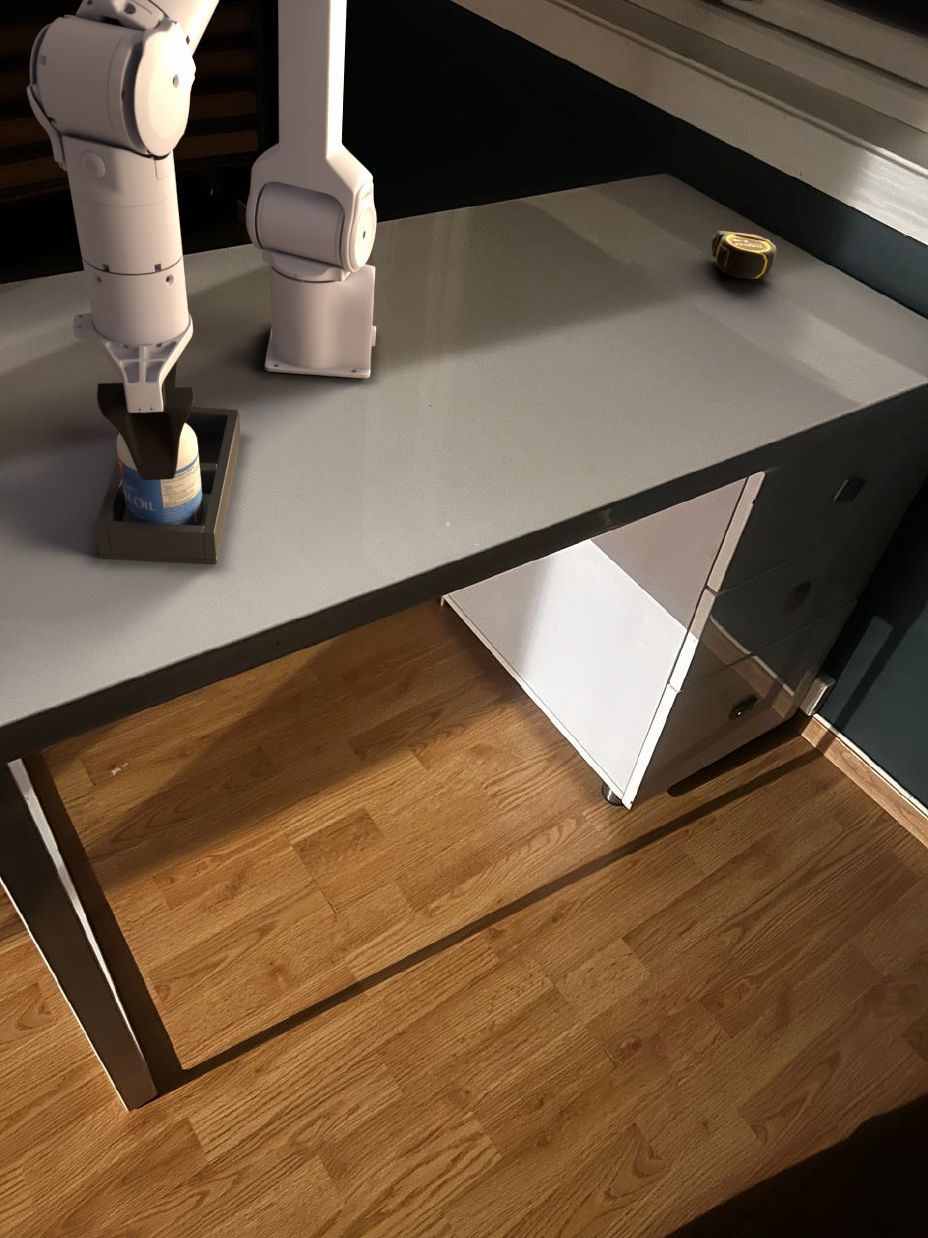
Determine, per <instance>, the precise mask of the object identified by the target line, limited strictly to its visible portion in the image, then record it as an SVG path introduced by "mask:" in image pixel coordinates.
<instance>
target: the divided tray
mask: <svg viewBox="0 0 928 1238" xmlns="http://www.w3.org/2000/svg"><path fill="white" fill-rule="evenodd" d="M240 418H241V417H240V409H233V408H221V407H220V408H217V407H204V406H193V408H192V411H191V414H190V415H189V417H188V418H187V420H186V422H185V423H186V424H187V425H188V426H189V427H190V428H191V429H192V430H193V431H194V433H195V435H196V438H197V445H198V454H199V466H200V476H201V488H202V499H203V518H202V521H201V523H200V524H199V526H194V525H176V524H157V523H139V522H129V519H128V515H127V510H126V503H125V497H124V491H123V485H122V478H121V472H120V466H119V460H118V458H117V459H116V462H115V465H114V468H113V471H112V475H111V477H110V480H109V483H108V486H107V489H106V492H105V495H104V498H103V501H102V504H101V507H100V510H99V513H98V516H97V518H96V522H95V525H94V531H95V536H96V541H97V546H98V551H99V556H100V559H108V560H109V559H110V560H128V561H145V562H146V561H148V562H168V563H188V564H189V563H190V564H208V565H211V564H212V565H217V564H218V560H219V555H220V550H221V545H222V539H223V535H224V529H225V525H226V520H227V519H226V518H227V513H228V510H229V509H228V508H229V504H230V498H231V493H232V488H233V483H234V477H235V472H236V466H237V463H238V462H237V461H238V456H239V451H240V445H241V441H242V436H241V419H240Z"/></svg>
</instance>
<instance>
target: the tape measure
mask: <svg viewBox="0 0 928 1238" xmlns="http://www.w3.org/2000/svg"><path fill="white" fill-rule="evenodd" d="M710 246H711V247H710V248H711V255H712V257H713V258H715V259H714V261H715V265H716V266H717V267H718V268H719V269H720V270H721V271H722V272H724V273H726V274H728V275H731V276H734V277H736V278H738V279H739V278H740V279H748V280H753V279H754V280H757V279H762V278H765V277H767V276H768V275H769V274H770V273H771V271H772V269H773V266H774V264H775V261H776V257H777V254H778V253H777V252H778V249H777V247H776V245H775V244H774V243H773V242H772V241H771V240H770V239H768V238H767V237H763V236H760V235H756V234H750V233H743V232H733V231H725V230H718V231H717V232H716V233H715V234H714V235H713V236H712V240H711V242H710Z"/></svg>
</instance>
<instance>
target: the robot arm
mask: <svg viewBox="0 0 928 1238" xmlns="http://www.w3.org/2000/svg"><path fill="white" fill-rule="evenodd" d="M219 1H220V0H82V2H81V4H80V6H79V7H78V9H77V11H76V13H75V15H71V14H65V15H63V17H62V16H59V17H57V18H56V19H55V20H54V21H53V22H51V23H48V24H46V25H45V26H44V27H43V28H42V29H41V30H40V31H39V32H38V34H37V36H36V37H35V39H34V42H33V45H32V48H31V53H30V59H29V81H30V82H29V85H27V87H26V92H27V98H28V101H29V105H30V107H31V110H32V112H33V114H34V116H35V118H36V120H37V121H38V122H39V124H40V126H42V128H43V129H44V130H45V132H46V133H47V134H48V137H49V139H50V142H51V147H52V151H53V157H54V162H57V163H58V166H59V167H60V168H61V169H62V170H63V171H65V172H66V173H67V178H68V183H69V184H68V185H69V190H70V195H71V201H72V207H73V214H74V218H75V219H74V220H75V224H76V231H77V235H78V243H79V248H80V254H81V258H82V264H83V270H84V271H83V272H84V276H85V277H84V278H85V282H86V283H85V284H86V290H87V295H88V301H89V306H90V307H89V308H90V311H91V312H81V313H78V314H77V313H76V314H75V315H74V317H73V323H72V328H73V334H74V337H75V338H77V339H78V340H91V341H93V342H95V343H96V345H97V347H98V348H99V349H100V350H101V352H102V353H103V355H104V357H105V358H106V359H107V361H108V362H109V363H110V365H111V367H112V368H113V369H114V371H115V372H116V374H117V375H118V376H119V378H120V380H121V382H104V383H103V382H102V383H101V382H100V383H97V388H96V389H97V391H96V399H97V406H98V408H99V410H100V412H101V414H102V416H103V417H104V418H106V420H107V421H109V422H110V423H111V424H112V425H113V427H114V428H115V429H116V431H118V434H119V433H120V434H121V436H122V438H123V439H124V441H125V443H126V445H127V447H128V450H129V452H130V454H131V457H132V459H133V461H134V464H135V466H136V468H137V470H138V472H139V474H140V476H141V478H142V479H143V480H164V479H173V478H174V477H175V473H176V469H177V462H178V451H179V442H180V436H181V432H182V429H183V426H184V424H185V422H186V420H187V418H188V417H189V415H190V414H191V411H192V408H193V407H194V405H195V389H194V388H195V387H194V386H176V380H177V379H176V377H177V367H178V360H179V358H180V356H181V354H182V352H183V351H184V350H185V348H186V346H187V345H188V344H189V342H190V341H191V339H192V337H193V334H194V327H193V318H192V316H191V314H190V313H189V309H188V308H189V307H188V297H187V289H186V288H187V287H186V277H185V267H184V256H183V246H182V236H181V226H180V225H181V224H180V216H179V205H178V204H179V203H178V194H177V182H176V171H175V162H174V160H175V159H174V151H173V150H174V149H175V148H176V147H177V145H178V143H179V141H180V139H181V138H182V137H183V136H184V134H185V130H186V128H187V124H188V118H189V113H190V112H189V111H190V102H191V101H190V100H191V91H192V85H193V83H194V81H195V78H196V77H195V73H196V70H197V68H196V65H195V62H194V59H193V55H194V54H195V51H196V49H197V47H198V45H199V43H200V41H201V39H202V37H203V34H204V33H205V31H206V28H207V27H208V24H209V22H210V20H211V18H212V16H213V14H214V13H215V9H216V8H217V5H218V4H219ZM277 7H278V8H277V15H278V17H277V18H278V19H277V20H278V21H277V22H278V24H277V25H278V27H277V28H278V29H277V30H278V33H277V34H278V143H276V144H274V145H273V146H271V147H269V148H268V149H267V150H265V151H264V152H263V153H262V154H260V155H259V156H258V157H257V159H256V160H255V161H254V163H253V165H252V167H251V172H250V187H249V194H248V198H247V203H246V209H245V224H246V231H247V234H248V236H249V238H250V241H251V242H252V243H251V244H252V245H253V246H254V248H256V249H257V250H260V251H262V252H261V253H262V255H261V256H262V263H264V264H267V265H269V266H270V267H269V268H270V271H269V272H270V304H271V306H270V307H271V328H270V333H269V339H268V345H267V350H266V355H265V361H264V370H265V371H267V372H271V373H272V372H273V373H285V374H299V375H311V376H312V375H313V376H314V375H315V376H327V377H339V378H351V379H352V378H353V379H368V378H370V376H371V362H372V361H371V360H372V347H376V334H377V333H376V332H377V326H376V325H373V321H374V304H375V303H374V301H375V281H376V280H375V279H376V267H375V266H373V265H370V264H367V262H368V260H369V258H370V255H371V252H372V250H373V248H374V247H373V246H374V243H375V237H376V231H377V211H376V208H375V202H374V201H375V200H374V183H373V175H372V173H371V172H370V171H369V170H368V169H367V168H366V167H365V166H364V165H363V164H362V163H361V162H360V161H359V160H358V159H357V158H356V157H355V156H354V155H353V154H352V153H350V151H349V150H348V149H347V148H346V147H345V146H344V145H343V143H342V137H343V136H342V133H343V132H342V131H343V107H344V106H343V103H344V78H345V77H344V75H345V47H346V19H347V0H277Z"/></svg>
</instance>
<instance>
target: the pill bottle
mask: <svg viewBox="0 0 928 1238" xmlns="http://www.w3.org/2000/svg"><path fill="white" fill-rule="evenodd" d="M116 453H117V459H118V460H119V466H120V472H121V478H122V485H123V491H124V497H125V503H126V510H127V515H128V519H129V522H139V523H157V524H176V525H194V526H199V524H200V523H201V521H202V518H203V499H202V488H201V476H200V466H199V454H198V445H197V438H196V435H195V433H194V431H193V430H192V429H191V428H190V427H189V426H188V425H187V424H186V423H185V424H184V426H183V429H182V432H181V436H180V442H179V451H178V462H177V469H176V473H175V477H174V478H173V479H164V480H143V479H142V478H141V476H140V474H139V472H138V470H137V468H136V466H135V464H134V461H133V459H132V457H131V454H130V452H129V450H128V447H127V445H126V443H125V441H124V439H123V438H122V436H121V434H120V433H119V432H118V435H117V437H116Z"/></svg>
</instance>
